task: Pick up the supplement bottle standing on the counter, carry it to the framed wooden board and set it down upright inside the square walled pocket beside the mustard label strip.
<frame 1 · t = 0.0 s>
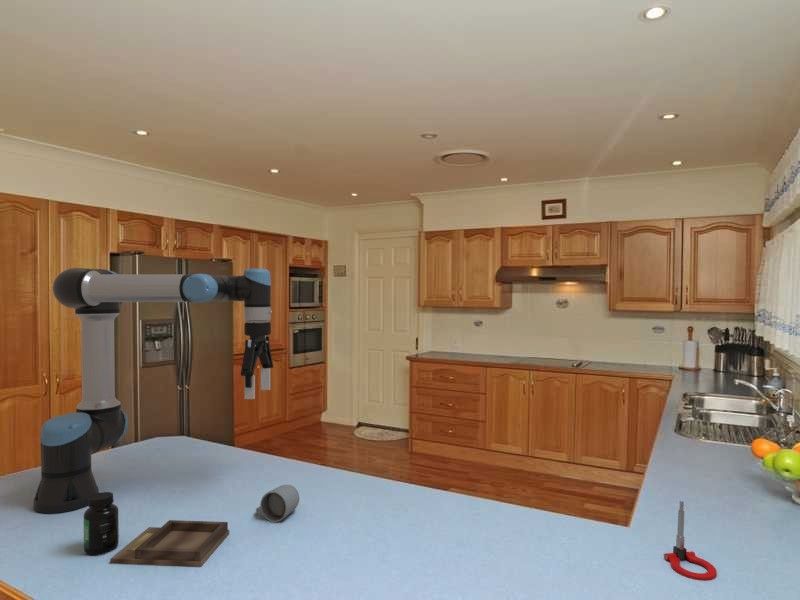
hand: (258, 394, 153), 28 cm above the countertop, tool pointing down, fingers open, 13 cm apart
tow hook: (691, 569, 110), on the countertop
framed wooden board: (173, 547, 119), on the countertop
supplement bottle: (101, 549, 118), on the countertop
ceramic mug: (276, 516, 136), on the countertop
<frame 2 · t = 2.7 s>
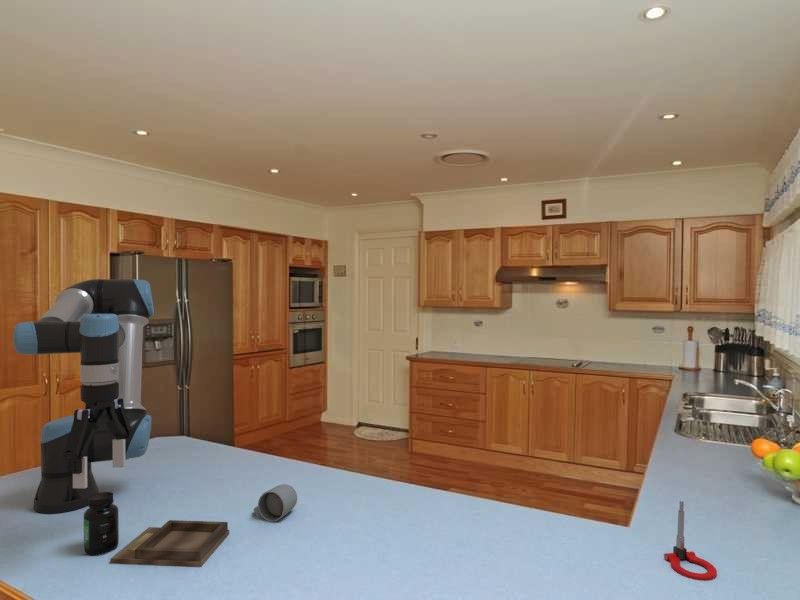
hand: (100, 476, 118), 16 cm above the countertop, tool pointing down, fingers open, 13 cm apart
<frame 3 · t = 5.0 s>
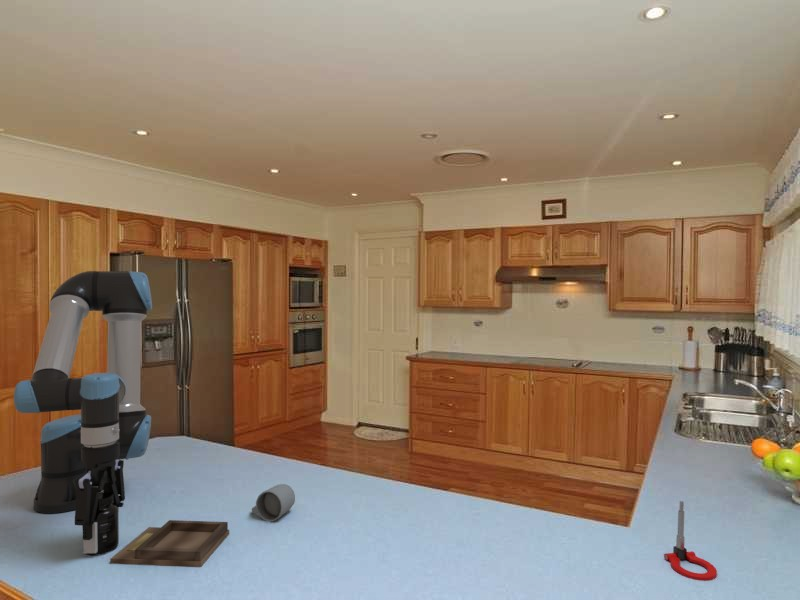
hand: (101, 543, 118), 1 cm above the countertop, tool pointing down, fingers closed on supplement bottle, 7 cm apart
supplement bottle: (101, 549, 118), on the countertop, touching gripper
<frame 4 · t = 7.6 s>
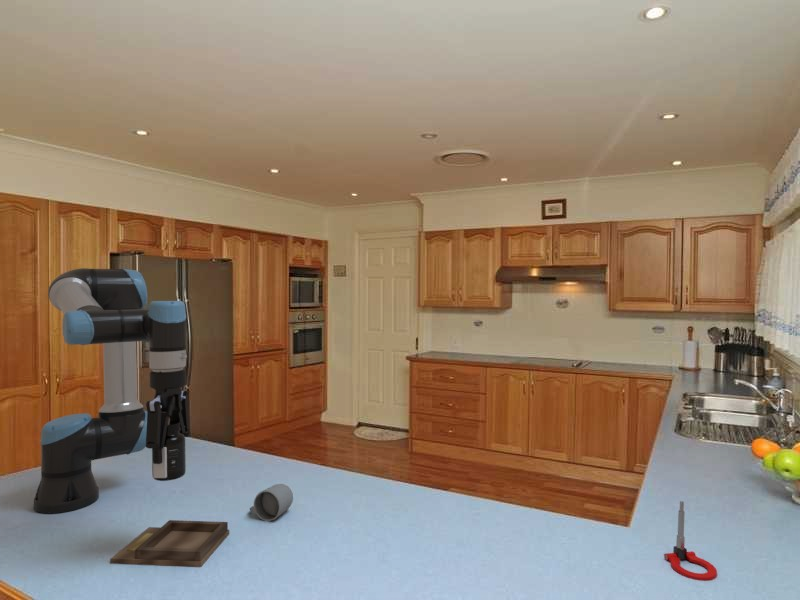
hand: (169, 471, 118), 18 cm above the countertop, tool pointing down, fingers closed on supplement bottle, 7 cm apart
supplement bottle: (169, 476, 118), point 16 cm above the countertop, touching gripper
when the fingers open (3 cm above the countertop, at t = 10.4 s): supplement bottle drops 1 cm, resting on framed wooden board.
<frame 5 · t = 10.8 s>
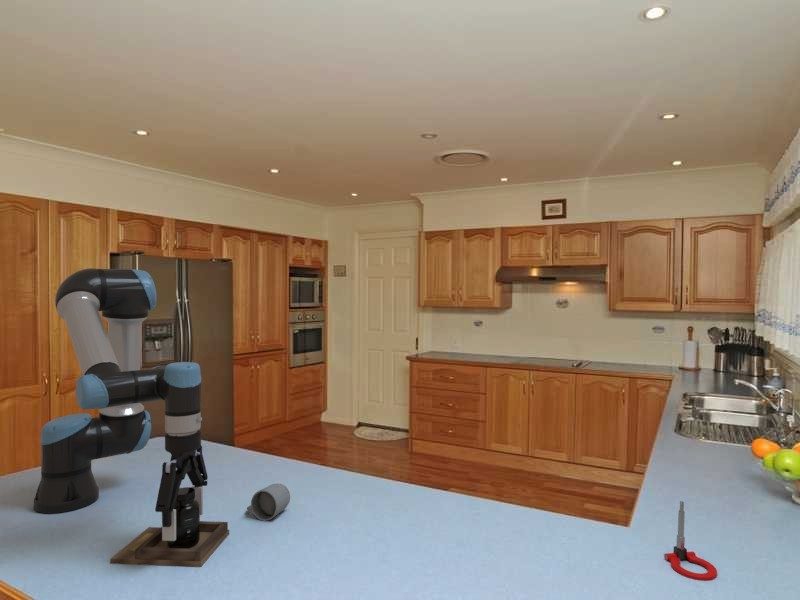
hand: (183, 526, 118), 5 cm above the countertop, tool pointing down, fingers open, 12 cm apart
supplement bottle: (183, 544, 118), point 1 cm above the countertop, touching framed wooden board
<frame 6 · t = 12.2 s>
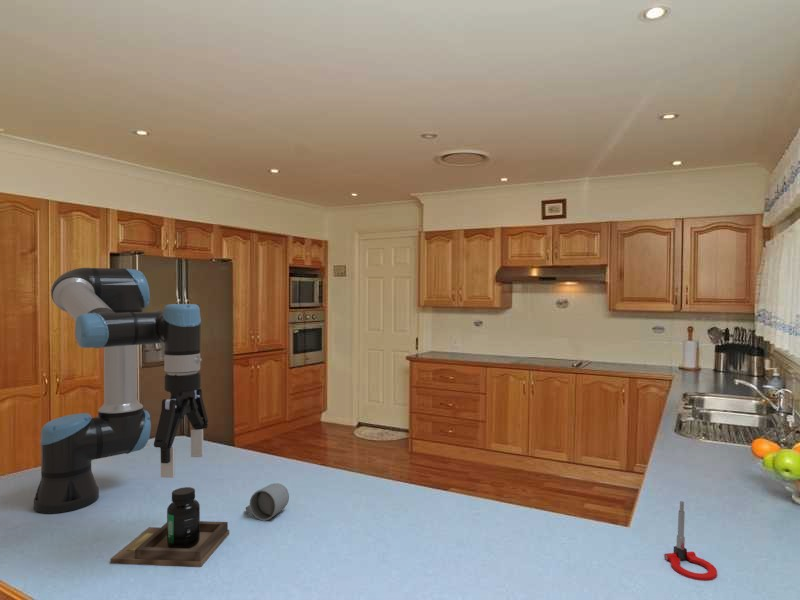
hand: (183, 466, 118), 19 cm above the countertop, tool pointing down, fingers open, 13 cm apart
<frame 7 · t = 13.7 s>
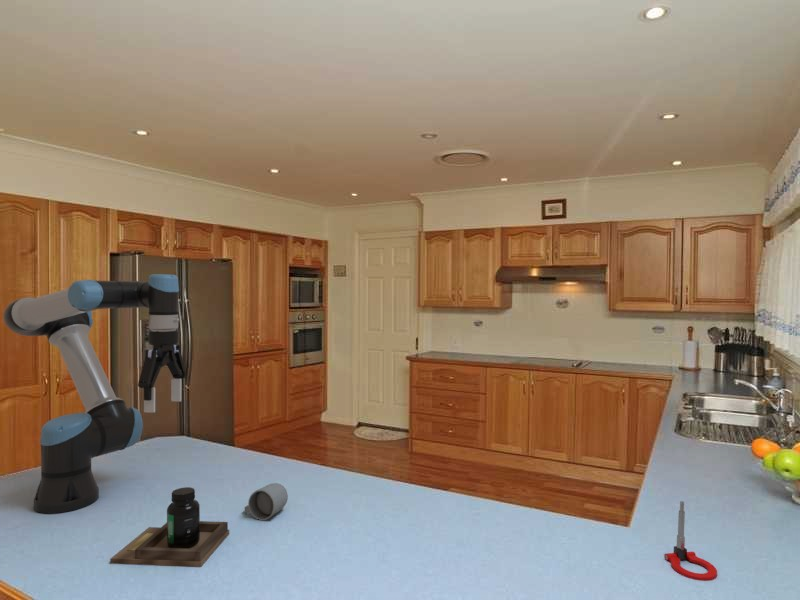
hand: (163, 406, 145), 26 cm above the countertop, tool pointing down, fingers open, 13 cm apart
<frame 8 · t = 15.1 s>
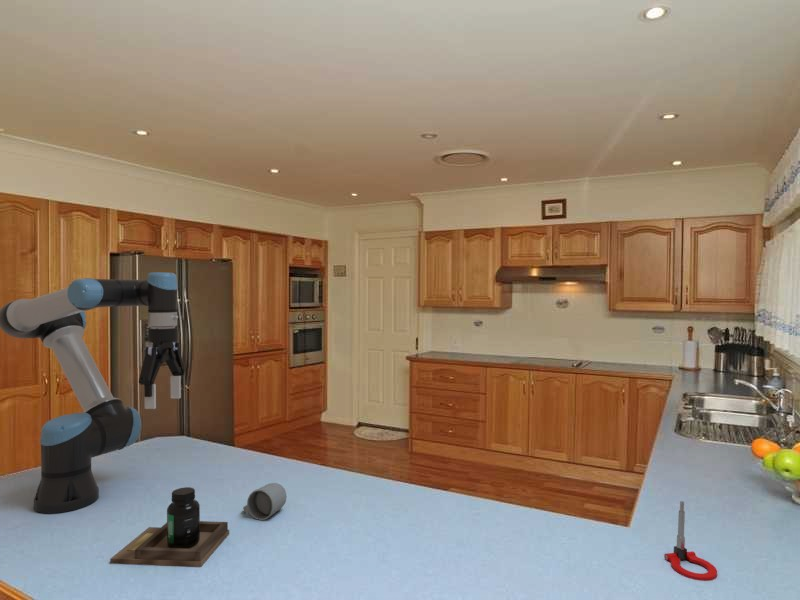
hand: (163, 403, 147), 27 cm above the countertop, tool pointing down, fingers open, 13 cm apart
at the end: supplement bottle 0.1 cm from the target spot on the framed wooden board, point 0.8 cm above the framed wooden board's base; supplement bottle tilted 0°; the gripper is holding nothing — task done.
